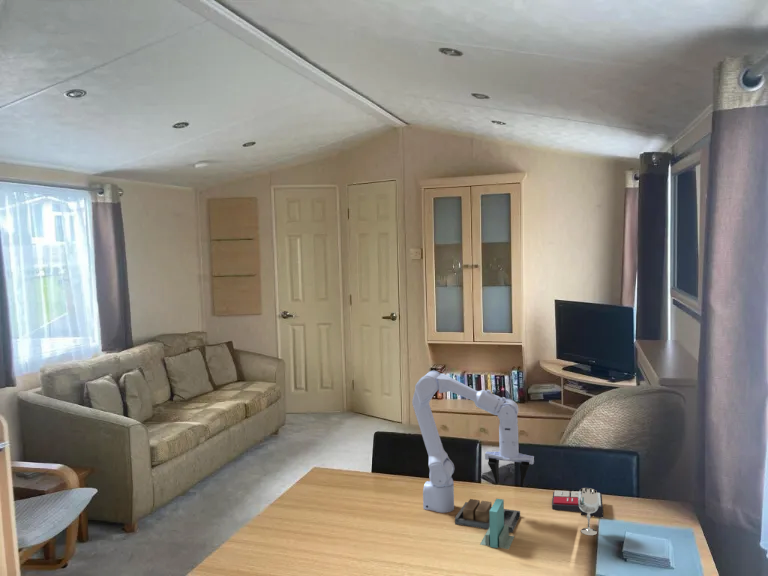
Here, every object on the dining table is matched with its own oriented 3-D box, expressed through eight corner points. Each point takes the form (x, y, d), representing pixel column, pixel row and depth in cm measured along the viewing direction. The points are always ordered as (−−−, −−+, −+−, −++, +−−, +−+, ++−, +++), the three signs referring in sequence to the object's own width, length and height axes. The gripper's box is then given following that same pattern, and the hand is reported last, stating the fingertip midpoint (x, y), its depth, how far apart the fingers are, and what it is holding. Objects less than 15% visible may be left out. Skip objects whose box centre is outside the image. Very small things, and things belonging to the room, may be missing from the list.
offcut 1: (463, 522, 180) (463, 509, 179) (470, 511, 187) (470, 499, 187) (473, 523, 178) (472, 510, 178) (479, 512, 186) (479, 500, 186)
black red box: (553, 489, 197) (601, 490, 192) (553, 502, 197) (602, 504, 193) (551, 502, 187) (602, 504, 182) (552, 515, 187) (603, 518, 182)
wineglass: (599, 528, 175) (598, 488, 174) (599, 537, 169) (599, 495, 169) (578, 526, 177) (577, 486, 176) (578, 535, 171) (577, 493, 171)
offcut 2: (475, 524, 178) (475, 510, 178) (482, 513, 185) (481, 500, 185) (485, 525, 177) (485, 512, 177) (491, 514, 184) (491, 501, 184)
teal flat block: (490, 547, 164) (489, 511, 163) (497, 532, 172) (496, 498, 172) (497, 548, 163) (496, 512, 162) (504, 533, 171) (503, 499, 171)
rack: (455, 527, 179) (454, 517, 178) (466, 511, 190) (465, 502, 189) (512, 536, 172) (512, 525, 172) (520, 519, 183) (520, 509, 183)
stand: (479, 547, 165) (479, 533, 165) (486, 535, 173) (486, 521, 173) (508, 552, 162) (508, 538, 162) (514, 539, 170) (514, 525, 169)
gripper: (482, 442, 182) (483, 486, 183) (530, 446, 176) (531, 492, 177) (487, 435, 189) (488, 478, 189) (534, 439, 183) (535, 483, 183)
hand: (509, 484), depth 184 cm, fingers open, 7 cm apart
